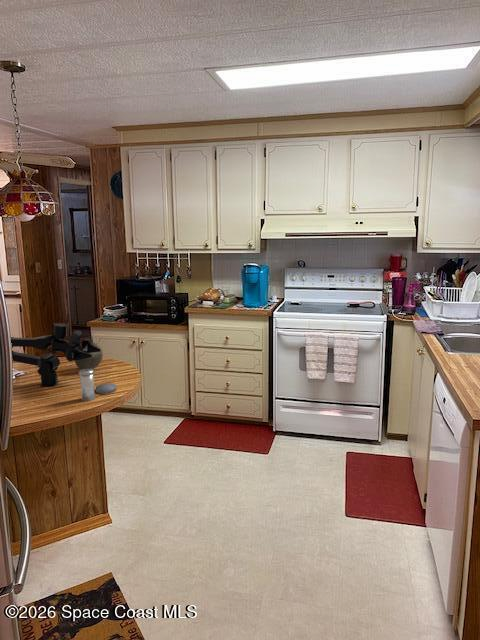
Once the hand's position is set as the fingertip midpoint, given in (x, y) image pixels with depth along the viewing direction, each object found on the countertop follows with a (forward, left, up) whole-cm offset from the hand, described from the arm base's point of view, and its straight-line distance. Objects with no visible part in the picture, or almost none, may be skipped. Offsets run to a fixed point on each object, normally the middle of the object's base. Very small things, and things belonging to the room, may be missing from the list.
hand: (96, 353), depth 218 cm
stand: (+5, -6, -16) cm, 18 cm away
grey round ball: (-12, +25, -17) cm, 32 cm away
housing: (0, -16, -16) cm, 23 cm away
